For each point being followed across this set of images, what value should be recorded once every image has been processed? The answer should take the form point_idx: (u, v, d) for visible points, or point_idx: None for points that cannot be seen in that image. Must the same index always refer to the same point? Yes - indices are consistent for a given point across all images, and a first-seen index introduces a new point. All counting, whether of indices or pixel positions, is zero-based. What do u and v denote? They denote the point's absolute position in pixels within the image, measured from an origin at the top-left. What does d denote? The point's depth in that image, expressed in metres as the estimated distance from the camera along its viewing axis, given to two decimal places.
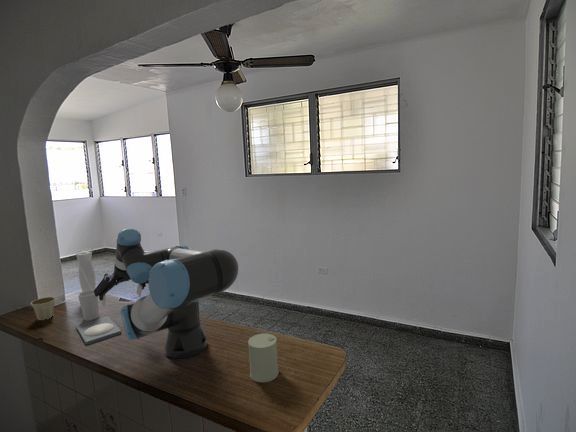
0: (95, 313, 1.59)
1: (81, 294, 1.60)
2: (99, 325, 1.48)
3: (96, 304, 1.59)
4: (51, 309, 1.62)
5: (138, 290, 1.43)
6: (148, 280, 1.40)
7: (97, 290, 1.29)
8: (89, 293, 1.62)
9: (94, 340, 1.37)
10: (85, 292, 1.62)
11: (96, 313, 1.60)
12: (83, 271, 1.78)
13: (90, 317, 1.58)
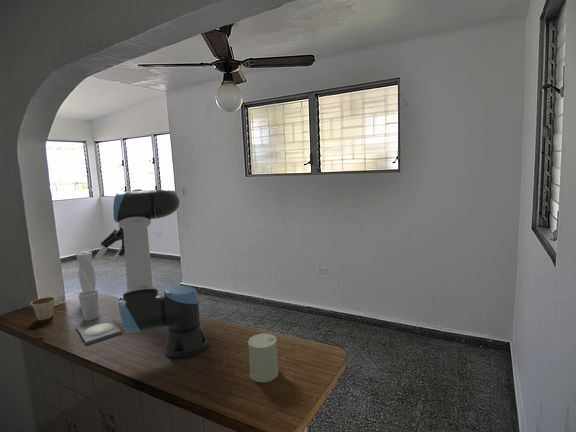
0: (95, 313, 1.59)
1: (81, 294, 1.60)
2: (99, 325, 1.48)
3: (96, 304, 1.59)
4: (51, 309, 1.62)
5: None
6: None
7: None
8: (89, 293, 1.62)
9: (94, 340, 1.37)
10: (85, 292, 1.62)
11: (96, 313, 1.60)
12: (83, 271, 1.78)
13: (90, 317, 1.58)
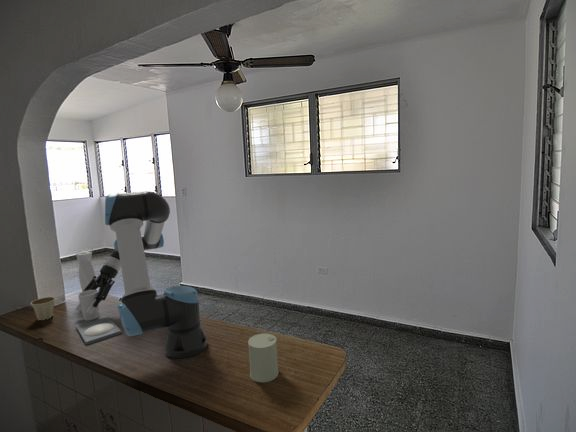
0: (95, 313, 1.59)
1: (81, 294, 1.60)
2: (99, 325, 1.48)
3: None
4: (51, 309, 1.62)
5: None
6: (102, 294, 1.58)
7: None
8: (89, 293, 1.62)
9: (94, 340, 1.37)
10: (85, 292, 1.62)
11: (96, 313, 1.60)
12: (83, 271, 1.78)
13: (90, 317, 1.58)
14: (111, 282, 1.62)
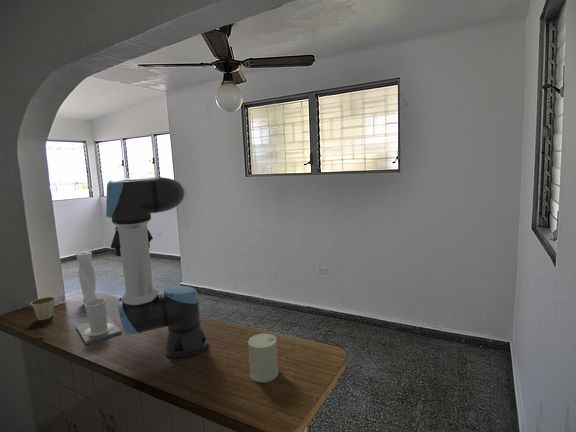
0: (103, 324, 1.43)
1: (88, 303, 1.44)
2: None
3: (104, 314, 1.44)
4: (51, 309, 1.62)
5: None
6: (151, 235, 1.64)
7: (114, 242, 1.48)
8: (96, 302, 1.47)
9: (94, 340, 1.37)
10: (92, 301, 1.46)
11: (104, 324, 1.44)
12: (83, 271, 1.78)
13: (97, 329, 1.42)
14: None
